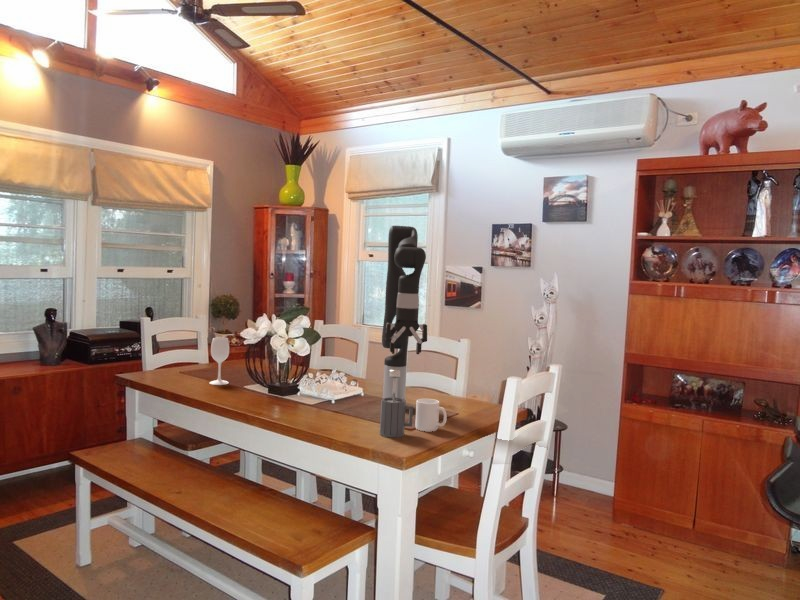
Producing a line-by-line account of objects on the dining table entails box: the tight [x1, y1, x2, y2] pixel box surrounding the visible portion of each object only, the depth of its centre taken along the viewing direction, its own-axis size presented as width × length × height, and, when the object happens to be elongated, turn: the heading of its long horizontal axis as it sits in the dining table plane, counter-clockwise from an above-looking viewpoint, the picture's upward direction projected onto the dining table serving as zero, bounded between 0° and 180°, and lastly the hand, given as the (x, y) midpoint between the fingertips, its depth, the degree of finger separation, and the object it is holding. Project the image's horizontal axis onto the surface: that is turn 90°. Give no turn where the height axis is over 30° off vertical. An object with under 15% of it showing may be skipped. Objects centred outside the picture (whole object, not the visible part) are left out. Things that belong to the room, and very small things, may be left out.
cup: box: [414, 398, 448, 433], centre depth 211 cm, size 8×12×10 cm
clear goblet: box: [387, 369, 401, 402], centre depth 202 cm, size 5×5×12 cm
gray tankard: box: [379, 397, 414, 439], centre depth 203 cm, size 8×11×12 cm
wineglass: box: [209, 336, 230, 386], centre depth 271 cm, size 9×9×21 cm
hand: (405, 353), depth 200 cm, fingers open, 8 cm apart
